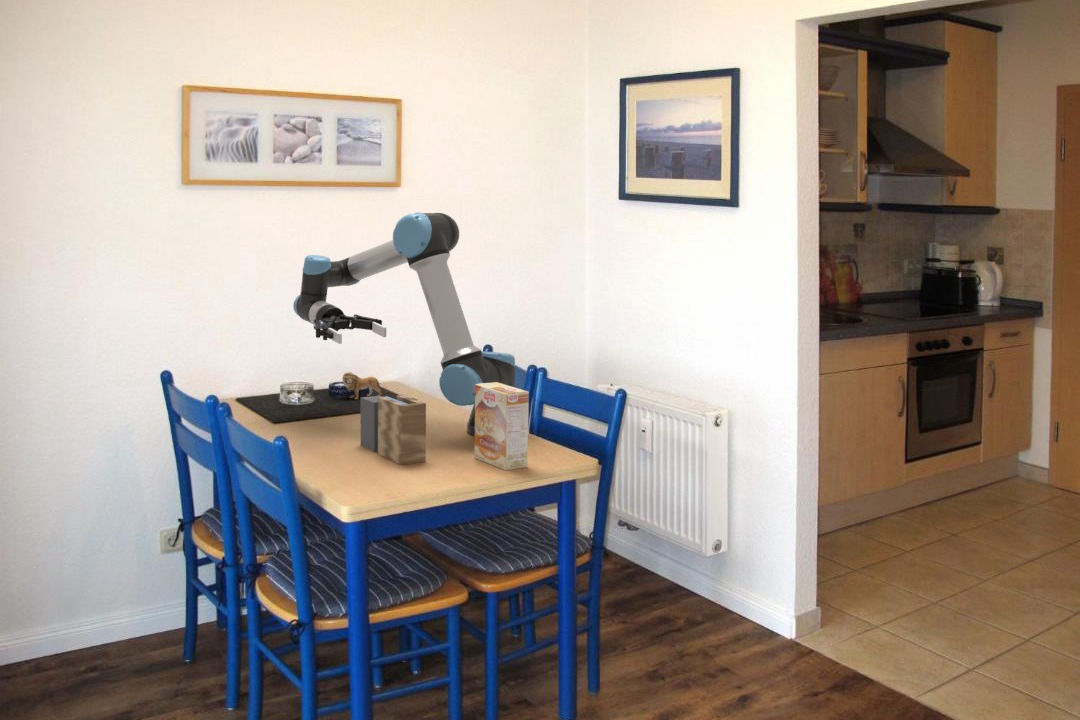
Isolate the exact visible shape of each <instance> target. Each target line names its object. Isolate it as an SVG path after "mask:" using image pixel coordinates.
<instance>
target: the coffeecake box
mask: <svg viewBox="0 0 1080 720" xmlns="http://www.w3.org/2000/svg"><path fill="white" fill-rule="evenodd" d="M529 398H530V391H528V390H524V389H521V388H518V387H516V386H515V387H511V386H508V385H505V384H501V383H498V382H493V383H480V384H475V435H474V449H473V450H474V451H473V452H474V453H473V455H474V456H473V459H476V460H479V461H481V462H483V463H486V464H488V465H491V466H494V467H496V468H498V469H501V470H503V471H511V470H512V471H513V470H516V469H525V468H528V461H529V460H528V456H529V455H528V454H529V453H528V451H529V448H528V447H529V445H528V444H529V405H530V404H529Z"/></svg>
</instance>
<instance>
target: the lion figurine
mask: <svg viewBox="0 0 1080 720" xmlns="http://www.w3.org/2000/svg"><path fill="white" fill-rule="evenodd" d="M342 382H343V386H344V387H345V388H346V390H348V391H350V390H354V395H351V394H350V396H349V398H350V399H354V400H358V399H359V392H360V390H365V389H367V388H368V390H369V393H367V394H366V396H365V397H370V396H372V394H373V392H374V391H375V392H377V393H378V394H377V395H376V396H381V397H382V395H383V394H384V393H383V392H382V391H381V385H380V382H379V380H378V379H377V378H376V377H374V376H368V377H363V378H361V377H359V376H358V375H356V374H354V373H353V372H351V371H347V372H345V373H344V374H343V375H342Z"/></svg>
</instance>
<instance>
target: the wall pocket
mask: <svg viewBox="0 0 1080 720" xmlns="http://www.w3.org/2000/svg"><path fill="white" fill-rule="evenodd" d="M395 397H396V398H395V399H396V400H399V401H402V402H404V403H407V404H405V405H404V404H401V403H399V402H396V401H393V400H391V399H388V398H385V396H381V397H378V451H377V453H378V455H379V456H381V457H383V458H386V459H387V460H390V461H392V462H393V463H397V464H399V465H401V466H405V465H410V464H417V463H425V462H426V461H427V456H426V455H427V453H426V452H427V448H426V447H427V403H425V402H422V401H421V400H420V401H419V400H418V399H417V400H418V401H417V400H414V399H412V398H413V397H411V398H410V397H408V396H406V395H404V394H403V395H402V394H399V395H398V394H397V395H395Z"/></svg>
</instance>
